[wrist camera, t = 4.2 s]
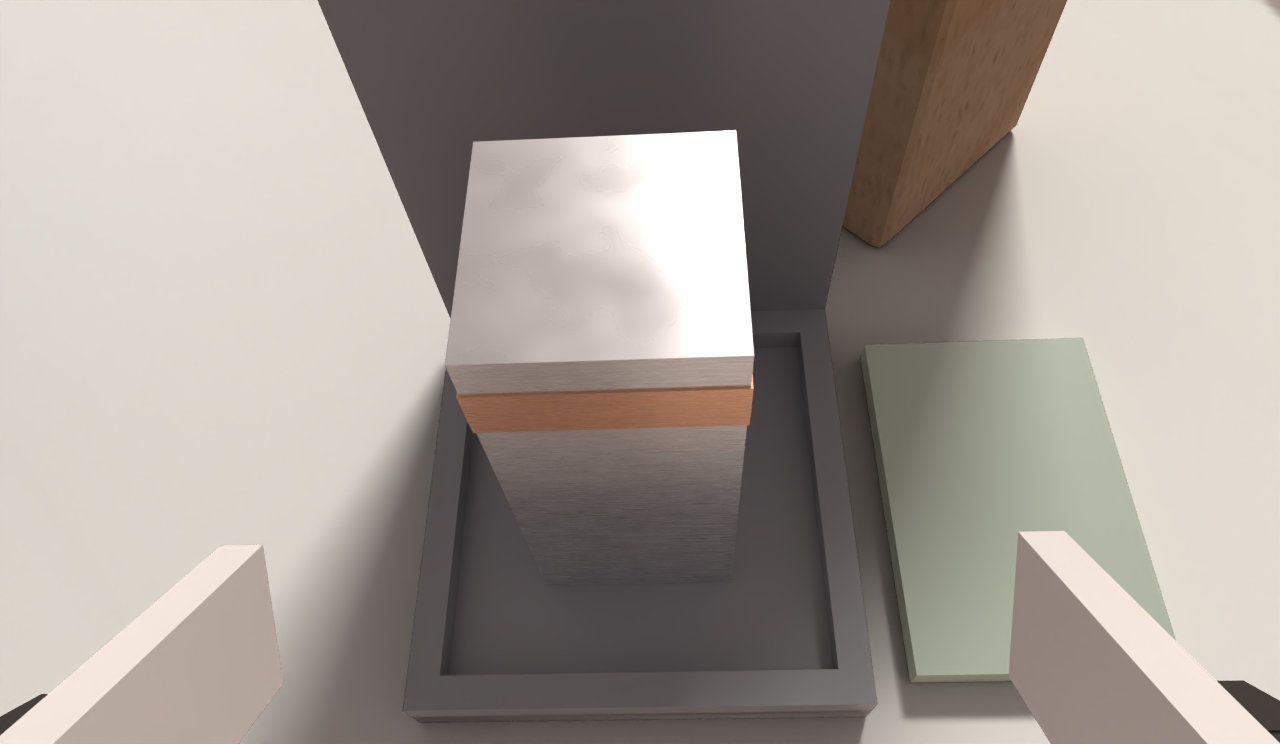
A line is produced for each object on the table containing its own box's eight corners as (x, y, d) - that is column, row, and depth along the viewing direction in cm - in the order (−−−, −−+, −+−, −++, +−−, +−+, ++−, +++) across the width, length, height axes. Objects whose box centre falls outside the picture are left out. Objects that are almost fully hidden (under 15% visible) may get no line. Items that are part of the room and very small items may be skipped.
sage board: (910, 682, 28) (916, 675, 27) (860, 358, 34) (864, 344, 34) (1170, 678, 28) (1185, 671, 27) (1073, 351, 34) (1083, 337, 33)
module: (545, 588, 29) (442, 367, 17) (554, 423, 33) (471, 140, 21) (732, 584, 29) (757, 357, 17) (722, 418, 32) (738, 129, 20)
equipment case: (420, 722, 28) (162, 549, 15) (466, 324, 36) (326, -31, 23) (865, 716, 28) (1030, 529, 14) (815, 312, 36) (889, -61, 22)
